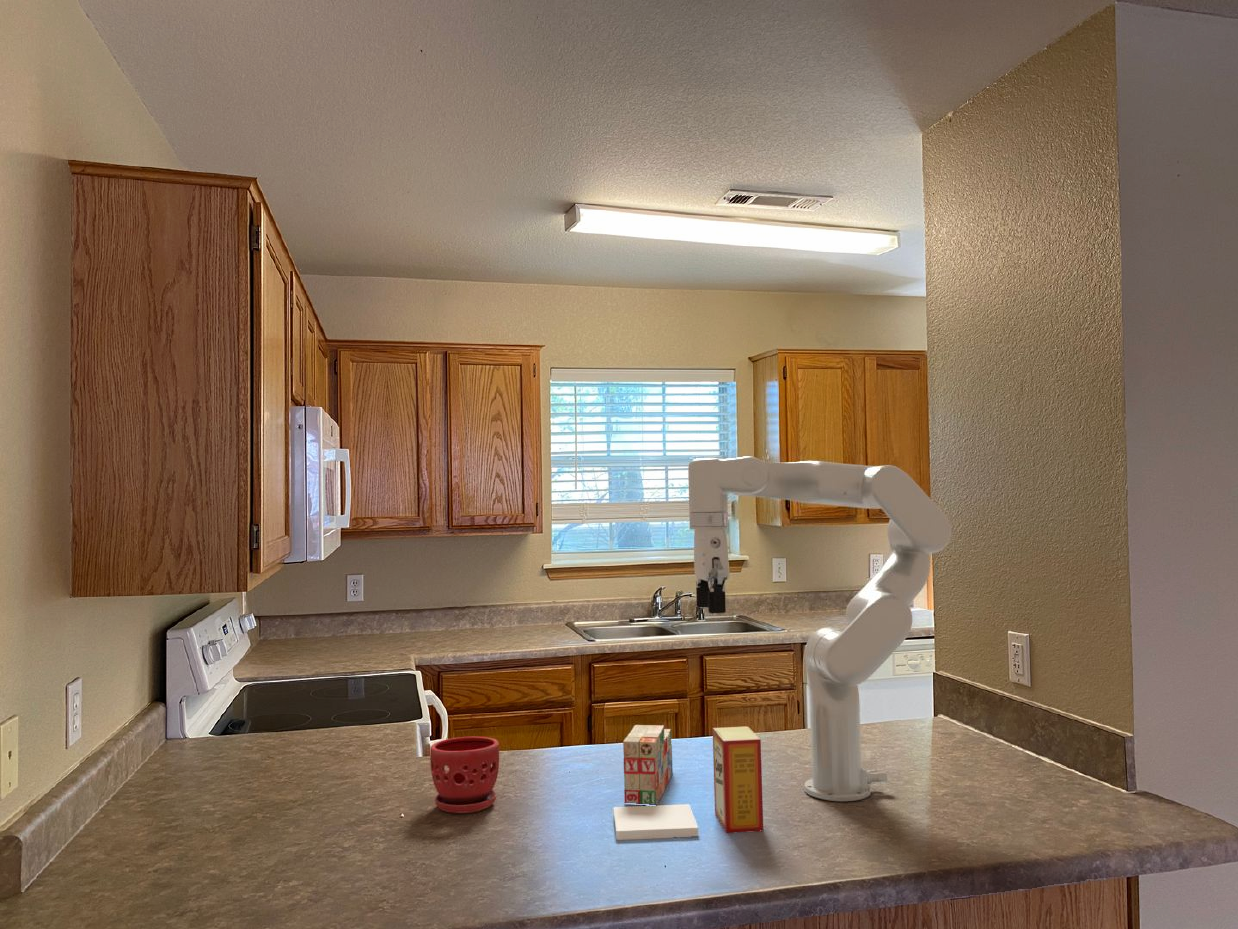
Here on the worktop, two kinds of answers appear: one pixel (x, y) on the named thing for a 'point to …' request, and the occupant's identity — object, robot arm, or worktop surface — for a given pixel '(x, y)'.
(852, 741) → the robot arm
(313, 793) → the worktop surface
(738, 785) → the baking soda box
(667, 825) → the cutting board
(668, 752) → the stack of blocks
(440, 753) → the plant pot
